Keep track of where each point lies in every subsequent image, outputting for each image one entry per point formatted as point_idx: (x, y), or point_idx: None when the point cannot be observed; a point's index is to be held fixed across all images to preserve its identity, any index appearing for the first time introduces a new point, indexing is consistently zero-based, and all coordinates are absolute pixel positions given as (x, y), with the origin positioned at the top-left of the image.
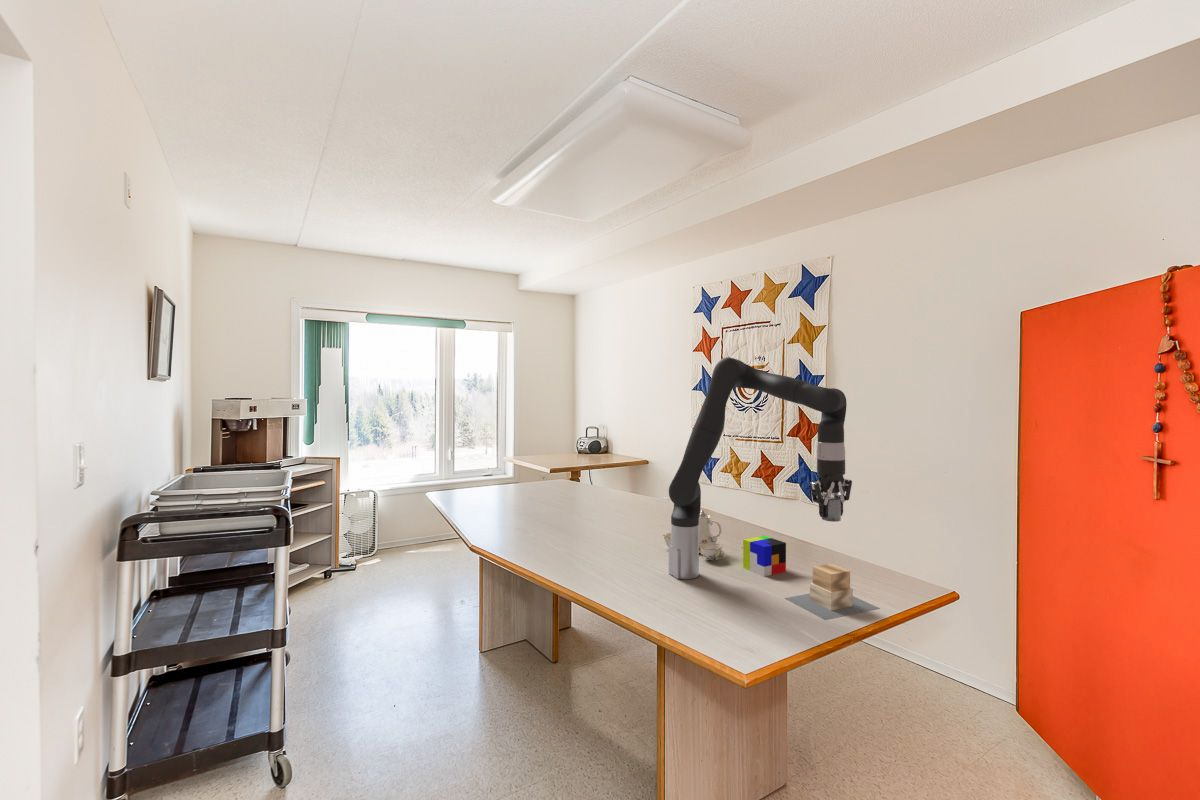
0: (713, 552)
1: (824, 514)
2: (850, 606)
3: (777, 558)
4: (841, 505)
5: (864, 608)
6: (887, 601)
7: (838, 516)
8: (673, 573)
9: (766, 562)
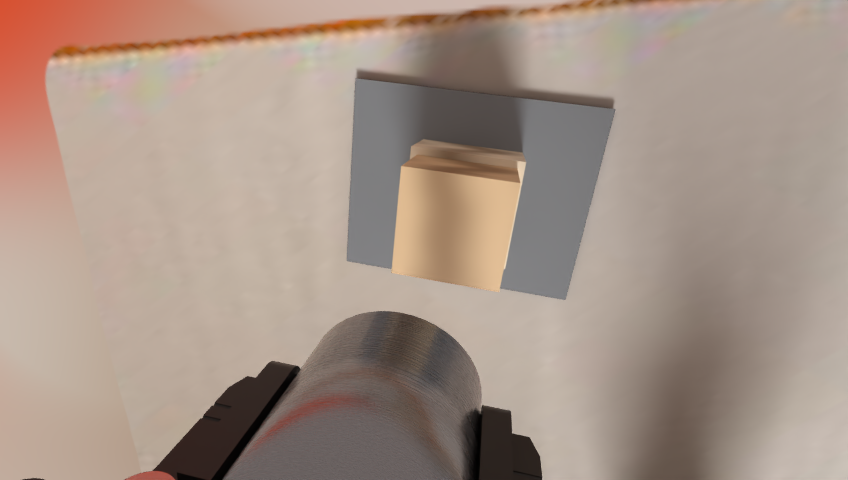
0: None
1: (511, 448)
2: (432, 140)
3: None
4: (212, 452)
5: (404, 105)
6: (273, 116)
7: (380, 341)
8: None
9: None
